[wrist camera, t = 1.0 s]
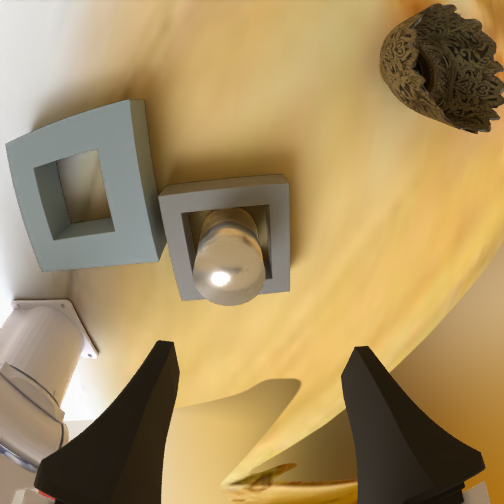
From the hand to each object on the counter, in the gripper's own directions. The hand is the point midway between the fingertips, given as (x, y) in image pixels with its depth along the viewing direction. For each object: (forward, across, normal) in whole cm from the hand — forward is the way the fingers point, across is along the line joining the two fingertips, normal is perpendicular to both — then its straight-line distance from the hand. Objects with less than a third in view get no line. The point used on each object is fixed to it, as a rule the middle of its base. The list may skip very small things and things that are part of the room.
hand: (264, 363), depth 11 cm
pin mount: (+12, +2, 0) cm, 12 cm away
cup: (+13, -9, -13) cm, 21 cm away
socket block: (+11, +13, -3) cm, 17 cm away
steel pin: (+12, +2, 0) cm, 12 cm away
